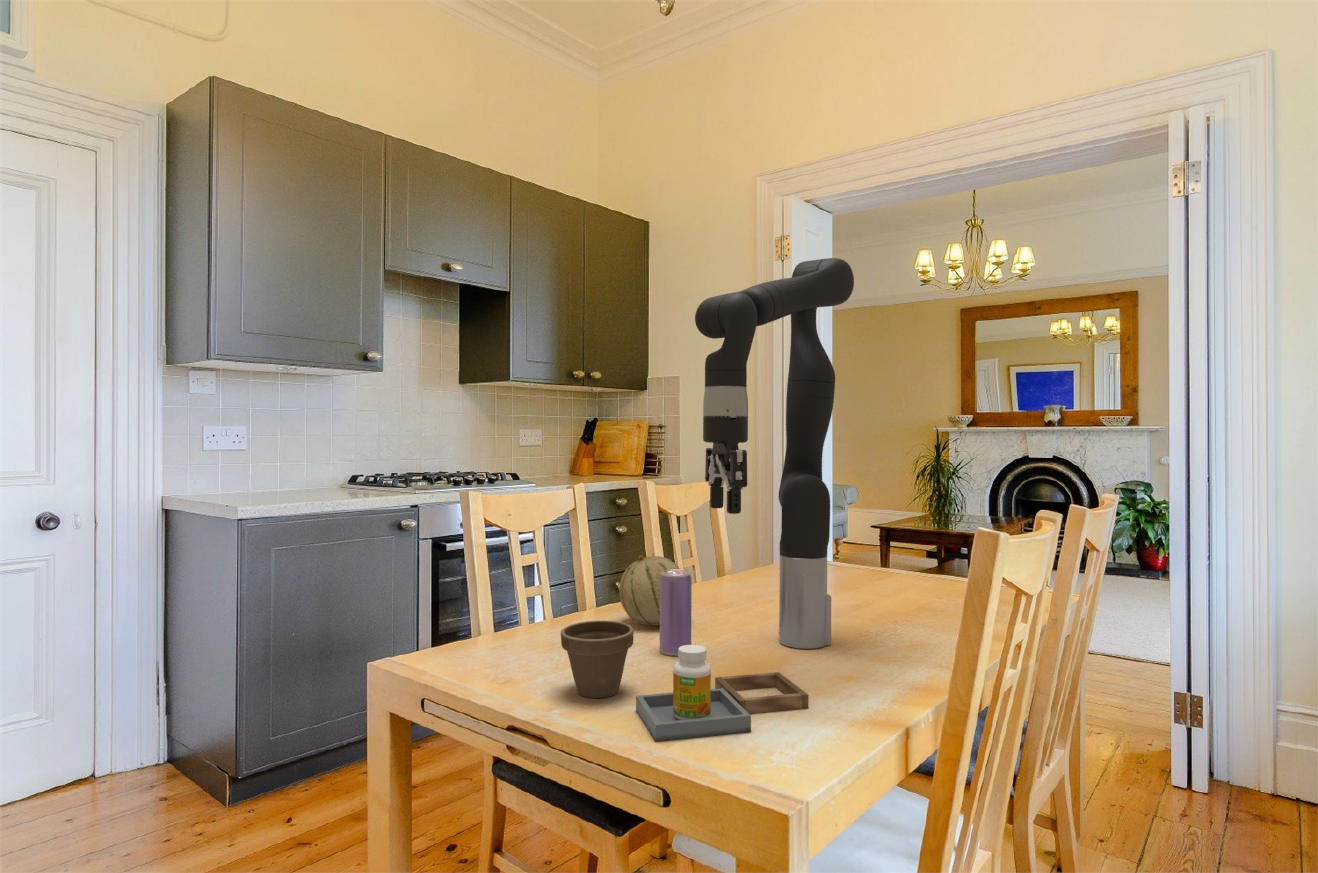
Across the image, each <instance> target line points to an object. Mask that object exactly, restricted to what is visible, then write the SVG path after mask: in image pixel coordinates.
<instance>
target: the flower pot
mask: <svg viewBox="0 0 1318 873" xmlns="http://www.w3.org/2000/svg"><path fill="white" fill-rule="evenodd" d="M634 632H635V631H634V628H633V626H631V625H630V624H627V623H625V622H622V621H615V620H587V621H581V622H576V623H572V624H570V625H567V626H565V627H564V628H562V629H561V630H560V642H561V647H562V650H564V651H566V653H567V656H568V660H569V664H570V669H571V672H572V677H573V680H574V681H573V682H574V683H575V684H574V685H575V687H576V690H577V693H578V694H579V695H581V696H583V697H585V698H589V699H604V698H609V697H612V696H615V695H616V694H617V693H618V692H619V690H620V686H621V682H622V678H623V674H624V669H625V665H626V659H627V654H628V651H629V649H630V648H632V646H633V645H634Z"/></svg>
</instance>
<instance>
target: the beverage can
mask: <svg viewBox="0 0 1318 873" xmlns="http://www.w3.org/2000/svg"><path fill="white" fill-rule="evenodd" d="M692 582H693V581H692V575H691V571H689V570H684V569H680V570H665V571H662V572H661V576H660V625H659V651H660V652H661V653H662V654H663V655H665V656H669V657H678V649H679V647H681V646H684V645H692V610H693V609H692V605H693V604H692V599H693V598H692V593H693V592H692V589H693V587H692V584H693V583H692Z"/></svg>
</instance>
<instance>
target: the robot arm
mask: <svg viewBox="0 0 1318 873" xmlns="http://www.w3.org/2000/svg"><path fill="white" fill-rule="evenodd" d="M851 267H852V266H851V265H850V264H849V263H848V262H847V261H846V260H845V259H842V258H837V257H831V258H821V259H820V258H819V259H814V260H813V259H812V260H806V261H801V262H799V263H797V265H795V267H794V269H793V271H792V274H791V277H787V278H780V279H775V280H770V281H766V282H762V283H758V284H755V285H752V286H749V287H748V288H745V289H742V290H739V291H736V292H734V291H733V292H729V293H725V294H724V293H723V294H720V295H719V294H718V295H715V296H711V297H708V298H706V299H704V300H703V301H702V302H701V303H700V304H699V305H698V307H697V308H696V311H695V313H694V314H695V315H694V322H695V326H696V328H697V330H698V331H699V332H700V334H701V335H703V336H704V337H706V338H708V339H713V340H714V339H716V340H717V339H723V338H724V339H723V342H722V345H721V347H720V348H719V349H717V350H716V351H715V350H714V351H713V352H710V353H709V354H708V355H707V356H706V358H705V362H704V394H703V402H702V407H703V408H702V409H703V410H702V411H703V413H702V416H703V418H702V440H703V442H705V443H710V444H711V443H712V444H713V445H712V447H706V449H705V465H704V466H705V473H704V474H705V476H704V479H705V480H704V481H705V482H707V484H708V486H709V506H710V508H711V509H723V508H724V484H725V486H726V513H727V514H731V515H734V514H735V515H737V514H738V515H739V514H740V513H741V512H742V491H743V490H744V488H747V487H748V451H747V450H746V449H739V444H740V443H744V444H745V443H747V442H748V440H749V399H748V390H747V382H748V380H747V379H748V375H747V372H748V370H747V368H748V367H747V364H748V360H749V355H750V353H751V349H752V345H753V341H754V337H755V335H756V334H755V333H756V329H757V327H760V326H764V325H766V324H769V323H772V322H774V321H775V322H776V321H777V320H779V319H782V318H785V317H788V316H790V349H789V364H788V374H787V385H786V386H787V387H786V398H785V399H786V401H785V402H786V404H785V406H786V407H785V431H786V432H785V433H786V434H785V436H786V438H785V439H786V440H785V441H786V445H785V457H784V463H783V468H782V474H781V479H780V484H779V488H778V501H779V504H780V507H781V532H780V540H779V586H778V587H779V591H778V592H779V597H778V598H779V600H778V601H779V605H778V606H779V608H778V610H779V614H778V615H779V617H778V621H779V622H778V623H779V624H778V641H779V643H780V644H782V646H786V647H790V648H794V649H795V648H796V649H811V650H812V649H820V648H823V647H826V646H830V645H832V596H831V595H830V594H828V549H829V548H828V546H829V543H830V537H831V536H830V533H831V532H830V529H831V528H830V527H831V525H830V524H831V494H830V491H829V489H828V487H827V484H826V483H825V482H824V481H823V452H824V451H823V450H824V445H825V440H826V437H827V434H828V430H829V427H830V426H829V425H830V423H831V418H832V415H833V408H834V402H835V390H836V389H835V388H836V374H835V373H836V371H835V370H834V367H833V366H834V365H833V364H832V362H831V359H830V357H829V356H828V354H827V352H826V350H825V348H824V346H823V344H822V342H821V339H820V338H819V333H818V328H817V310H818V308H825V307H835V306H840V305H842V304H844V303H845V302H847V301H848V300H849V299H850V297H851V296H852V293H853V291H854V286H855V277H854V272H853V269H852V268H851Z"/></svg>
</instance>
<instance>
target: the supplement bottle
mask: <svg viewBox="0 0 1318 873" xmlns="http://www.w3.org/2000/svg"><path fill="white" fill-rule="evenodd" d="M677 657H678V659H679V661H677V662H676V663H675V664H674V665H673V672H672V673H673V674H672V677H673V678H672V679H673V680H672V682H673V683H672V684H673V685H672V689H673V691H672V693H673V715H674V717H675V718H677V719H678V720H689V719H700V718H709V717H710V712H711V689H712V684H711V683H712V680H711V679H712V668H711V666H710V664H709V663H708V662H706V659H707V648H706V647H705V646H702V645H699V644H698V645H697V644H691V645H684V646H681V647H679V649H678V656H677Z"/></svg>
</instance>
